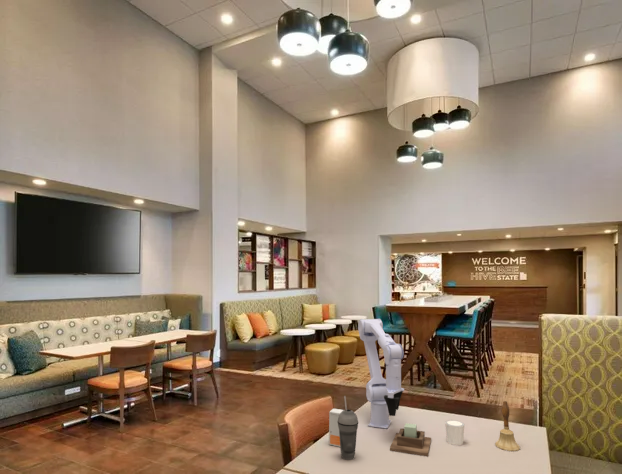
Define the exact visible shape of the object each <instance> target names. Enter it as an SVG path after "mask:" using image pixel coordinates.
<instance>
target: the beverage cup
mask: <svg viewBox="0 0 622 474" xmlns="http://www.w3.org/2000/svg"><path fill="white" fill-rule="evenodd" d="M343 398H344V409H342V410H343V411H342V412H341V413H340V414H339V417H338V421H337V423H338V428H339V436H340V447H339V449H340V455H341V459H343V460H346V461H352V460H354V459H355V454H356V449H357V448H356V447H357V435H358V434H357V432H358V427H359V419H358V416H357V414H356V413H355V412H354V411H353V410H351V409H350V408H349V409H348V407H347V397H346V395H344V396H343Z"/></svg>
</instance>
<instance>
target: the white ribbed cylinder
mask: <svg viewBox="0 0 622 474" xmlns="http://www.w3.org/2000/svg"><path fill="white" fill-rule="evenodd" d="M444 424H445V432H446V433H445V434H446V442H447V443H448V444H449V445H452V446H462V445H464V437H465V435H464V434H465V423H464V422H462V421H461V420H460V421H459V420H453V419H451V420H450V419H449V420H446V421H445V422H444Z"/></svg>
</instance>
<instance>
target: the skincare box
mask: <svg viewBox="0 0 622 474" xmlns="http://www.w3.org/2000/svg"><path fill="white" fill-rule="evenodd" d="M343 410H344V409H338V408H332V409H331V410H330V411H329V413H328V414H329V415H328V417H329V418H328V419H329V420H328V421H329V422H328V425H329V426H328V445H330V446H334V447H339V448H340V436H339V428H338V423H337V421H338V417H339V414H340V413H341V412H342V411H343Z"/></svg>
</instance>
